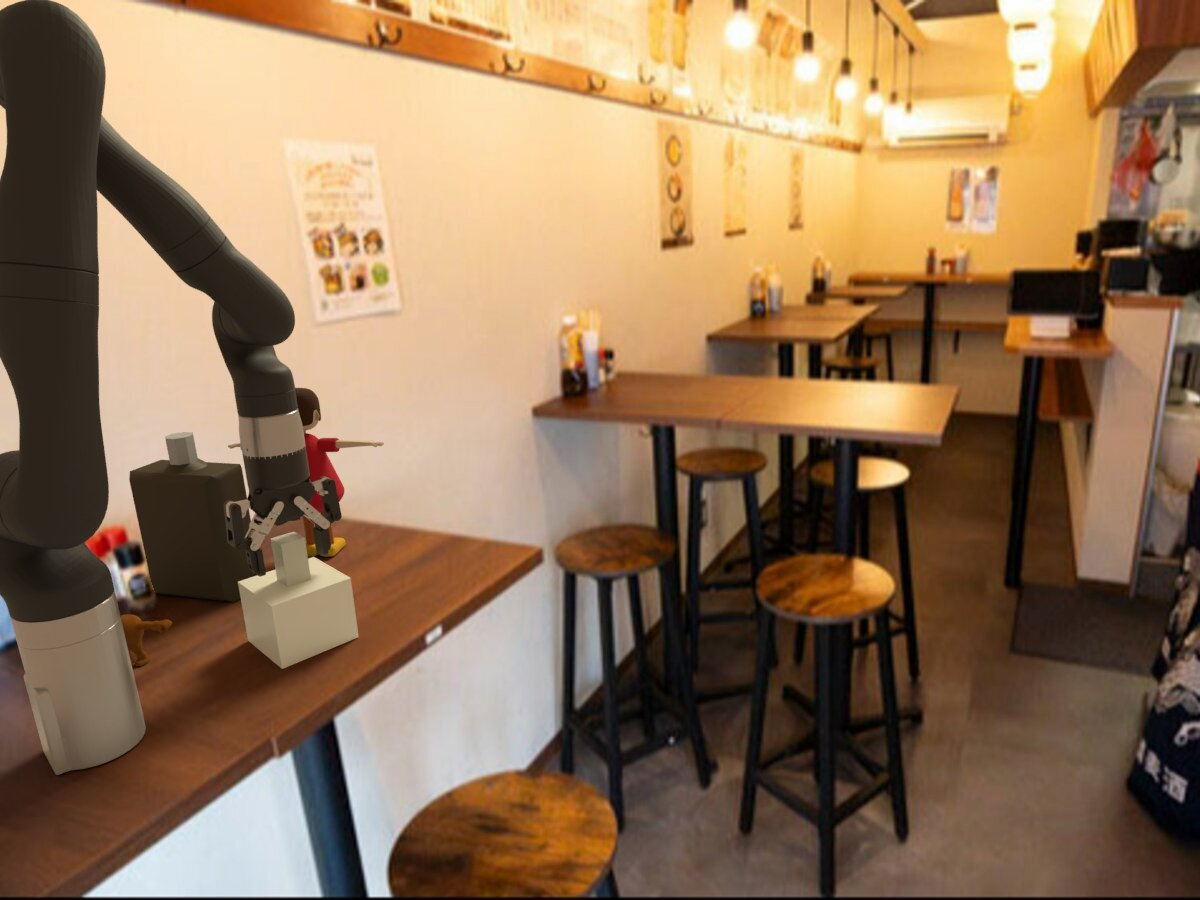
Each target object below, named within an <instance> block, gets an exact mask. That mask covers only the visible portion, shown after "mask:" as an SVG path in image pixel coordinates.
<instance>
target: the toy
mask: <svg viewBox="0 0 1200 900" xmlns="http://www.w3.org/2000/svg"><path fill="white" fill-rule="evenodd" d="M295 391H296V398H297V405H298V411H299V415H300V418H301V421H302V425H303V431H304V438H305V445H306V452H307V459H308V465H309V472H310V481H311V482H314V481H317V480H319V478H320V477H321V476H325V477H328V478H330V479H332V480H334V481H335V485H336V490H337V495H338V500H339V503H340V501H342V499H343V498H344V496H345V487H344V484H343V483H342V481H341V479H340V477H339V475H338V473H337V471H336V469H335V467H334V465H333V464H332V461H331V459H330V458H329V456H328V453H338V452H339V451H340V450H341V449H344V448H345V449H347V448H348V449H349V448H357V447H370V446H371V447H374V448H377V447H382V446H383V445H384V444H385V443H384V442H383V441H374V440H350V439H349V440H348V439H347V440H343V439H339V438H337V437H317V436H316V435H314V434H311V433H308V432H307V431H310V430H312V429H314V428H315V427H316V426H317V425H318V424H319V422H321V420H322V414H321V406H320V405H321V404H320V400H319V398H318V396H317V394H316V393H315V391H313V390H312V389H310V388H306V387H295ZM227 448H229V449H231V450H232V449H235V448H240V442H237V443H232V444H229V445H227ZM309 504H310V505H311V506H312V507H313V508H315V509H316V510H317V511H318V512H319V513H320V514H321V515H322V514H324V513H325V511H324V506H323V502H322V497H321V495H320V494H318V493H317V491H316V490H315V493H314V495H313V497H312V499H311V501H310V503H309ZM302 522H303V527H304V534H305V543H306V549H307V556H308V558H311V557H317V555H319V554H318V553H317V551H316V546H315V540H314V533H313V527H315V524H314V523H313V522H311V521H310V520H309V519H308V518H307V517H305V516H304V515H303V516H302ZM329 535H330V542H331V548H330V550H328V555H325V556H324V557H325V558H326V557H334V556H336V555H337V554H339V552H340V551H341V550H342V549H343V548H344V547H345V546H346V540H345V539H344V538H343V537H335V536H334V529H333V523H332V524H331V525H330V526H329ZM319 556H321V555H319ZM321 557H322V556H321Z"/></svg>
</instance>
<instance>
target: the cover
mask: <svg viewBox="0 0 1200 900" xmlns="http://www.w3.org/2000/svg"><path fill="white" fill-rule="evenodd" d="M306 543H307V542H306V536H303V535H301V534H300V533H298V532H296V531H292V532H291V531H290V532H287V533H285V534H281V535H277V536H275V537H271V538H270V545H271V549H272V556H273V557H272V558H273V564H274V568H275V569H272V570H269V571H266V575H264V576H261V577H259V576H258V575H257V576H254V577H251V578H248V579H245V580H242V581H239V582H238V586H239V592H240V597H241V598H240V603H241V606H242V607H241V609H242V613H243V619H244V624H245V625H244V626H245V629H246V630H245V631H246V637H247V641H248V642H249V643H250V644H252V646H253V647H255V648H256V649H257V650H258V651H260V652H261V653H262V654H263V655H265V657H267V658H268V659H269V660H271V661H272V663H274V664H275V665H277V666H278V667H279V668H280V669H282V670H283V669H286V668H288V667H291V666H292V665H296V664H297V663H301V662H302V661H305V660H307V659H309V658H313V657H314V656H317V655H319V654H321V653H324V652H326V651H329V650H332V649H333V648H336V647H338V646H341V645H343V644H346V643H348V642H351V641H353V640H355V639H357V638H358V639H359V631H358V623H357V622H358V621H357V614H356V606H355V600H354V591H353V584H352V578H351V577H350V576H349V575H346V574H345V573H344V572H341V571H340V570H338V569H336V568H334V567H332V566H330V565H329V564H327V563H325V562H323V561H322V560H320V559H318V558H317V557H316V556H311V557H309V556H307V549H306Z"/></svg>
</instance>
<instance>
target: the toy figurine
mask: <svg viewBox="0 0 1200 900" xmlns="http://www.w3.org/2000/svg"><path fill="white" fill-rule="evenodd" d="M120 617H121V621H122V625H123V630H124V634H125V638H126V643H127V647H128V652H129V656H130V660H131V664H133V663H134V666H135V667H137V666H140V667H143V666H145V665H147V664H148V663H149V662H150V660H151V659H150V657H149V656H148V654H147V652H146V651H144V646H143V641H142V639H143V637H144V633H145V630H146V631H147V630H151V631H155V632H157V631H158V633H161V634H166V633H167V630H168V629H169V628H170V627H171V626H172V625H173V621H171V620H169V619H166V618H164V619H163V620H153V621H150V620H149V621H147V620H146V621H143V620H142V618H140V617H139V616H138V615H135V614H130V613H127V614H122V615H120ZM131 650H132V651H131ZM133 653H134V654H135V655H136V658H137V659H136V658H135V656H134V654H133ZM135 659H136V660H135ZM146 663H147V664H146Z"/></svg>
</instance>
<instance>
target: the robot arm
mask: <svg viewBox="0 0 1200 900" xmlns="http://www.w3.org/2000/svg"><path fill="white" fill-rule="evenodd" d="M105 63H106V62H105V58H104V54H103V51H102V48H101V46H100V44H99V41H98V39H97V38H96V36H95V34H94V32H93V31H92V29H91V28H90V27H89V26H88V24H87V22H86V21H85V20H83V19H82V18H81V16H80V15H78V13H76V12H75V11H74V10H71V8H69V7H67V6H65V5H64V4H61V3H59V2H57V1H53V0H21V1H17V2H15V3H11V4H9V5H7V6H5V7H2V8H1V9H0V106H1V108H2V109H4V110H5V124H6V150H5V151H6V152H5V158H4V161H3V163H4V164H3V167H2V171H1V174H0V360H1V363H2V365H3V367H4V369H5V371H6V373H7V376H8V378H9V380H10V383H11V386H12V388H13V392H14V395H15V396H14V397H15V400H16V404H17V410H18V418H19V419H18V422H19V424H18V425H19V428H18V430H19V432H18V434H19V437H18V438H19V439H18V440H19V441H18V446H19V447H18V450H17V449H16V450H10V451H5V452H3V453H2V452H1V453H0V597H1V598H2V599H3V601H4V603H5V604H6V607H7V610H8V614H9V617H10V621H11V625H12V628H13V633H14V636H15V639H16V643H17V646H18V647H17V648H18V651H19V655H20V659H21V663H22V666H23V669H24V674H23V681H24V684H25V685H24V686H25V688H26V692H27V696H28V700H29V702H30V707H31V710H32V714H33V718H34V722H35V725H36V729H37V731H38V736H39V739H40V744H41V749H42V751H43V753H44V755H45V757H46V759H47V761H48V763H49V765H50V767H51V769H52V771H53V773H54V774H55V775H56V776H59V775H61V774H64V773H67V772H69V771H77V770H85V769H89V768H93V767H97V766H99V765H102V764H103V765H104V764H105V763H108V762H110V761H113V760H115V759H117V758H119V757H121V756H122V755H125V753H128V752H129V751H131V750H132V749H133V748H135V746H137V744H139V743H140V741H141V740H142V739H143V737H144V735H145V733H146V729H147V727H146V724H145V723H146V722H145V719H144V712H143V709H142V705H141V700H140V696H139V692H138V687H137V683H136V678H135V674H134V669H133V665H132V663H131V660H130V656H129V652H128V647H127V643H126V638H125V634H124V630H123V625H122V621H121V617H120V616H121V613H120V609H119V604H118V599H117V596H116V591H115V585H114V582H113V581H114V580H113V577H112V573H111V570H110V569H109V567H108V565H107V564H106V563H105V562H104V561H103V560H101V558H99V557H98V556H97V555H96V554H95V553H94V552H93V551H92V550H91V549H90V548H89V546H88V545H87V544H86V542H87V541H88V540H89V539H91V538H92V537H93V536H94V535H95V534H96V532H97V531H98V530H99V528H100V527H101V525H102V524H103V521H104V519H105V517H106V514H107V511H108V505H109V498H110V497H109V495H110V493H109V492H110V488H109V476H108V467H107V459H106V451H105V444H104V443H105V442H104V436H103V429H102V420H101V419H102V418H101V409H100V408H101V406H100V369H99V368H100V361H99V315H100V276H99V275H100V266H99V242H98V241H99V237H98V236H99V234H98V233H99V226H98V222H99V221H98V217H99V216H98V193H99V194H100V195H102V197H103V198H105V200H106V201H108V202H109V204H111V205H112V207H114V209H116V211H118V213H120V215H122V217H123V218H124V219H125V220H126V221H127V222H128V223H129V224H130V225H131V227H132V228H134V230H135V231H137V233H138V234H139V235H140V236H141V238H142V239H144V240H145V242H146V243H147V244H148V245H149V246H150V247H151V248H152V250H153V251H154V252H156V254H157V255H158V256H159V257H160V259H162V260H163V262H164V263H165V264H166V265H167V266H168V267H169V268H170V269H171V270H172V271H173V273H174V274H176V276H177V277H178V278H179V279H181V281H182V282H183V283H184V284H186V285H187V286H188V287H191V288H192V289H195V290H197V291H199V292H201V293H204V294H205V295H206V296H208V297H209V298H210V299H211V300H212V301H213V305H212V308H211V309H212V311H211V324H212V329H213V333H214V336H215V339H216V343H217V345H218V348H219V351H220V353H221V356H222V358H223V360H224V363H225V367H226V368H227V370H228V372H229V374H230V378H231V380H232V384H233V393H234V398H235V404H236V411H237V415H238V416H237V417H238V435H239V440H240V441H239V443H240V447H239V448H240V450H241V453H242V458H243V459H242V461H243V465H244V473H245V477H246V483H247V487H248V495H247V499H246V500H241V501H236V502H233V501H231V500H227V501H225V503H224V514H225V523H226V532H227V541H228V544H229V545H230V546H232V547H234V548H235V549H237V550H242V549H244V550H246V556H247V562H248V567H249V569H250V570H251V571H252V572H253V573H255V574H256V575H258V576H259V577H261V576H264V575H266V572H267V571H266V566H265V559H264V552H263V549H262V548H261V545H262V543H263V542H264V540H265V538H266V536H268V535H269V534H270V533H271V530H272V528H273V527H274V526H277V527H278V526H282V525H284V524H286V523H288V522H296V521H299V520H301V518H303V515H304V516H305V517H307V518H308V519H309V520H310V521H311V522H313V523H314V527H313V533H314V540H315V546H316V551H317V553H318V554H317V555H319V556H320V555H321V557H325V555H328V550H330V548H331V542H330V535H329V526H330V525H331V524H332V525H333V524H334V523H335V522H338V521H340V520H341V519H342V517H343V515H342V511H341V506H340V502H339V500H338V495H337V490H336V485H335V481H334V480H332V479H330V478H328V477H325V476H321V477H320V478H319V480H317V481H314V482H311V481H310V472H309V465H308V459H307V452H306V445H305V438H304V431H303V425H302V421H301V418H300V415H299V411H298V405H297V398H296V391H295V388H296V386H295V380H294V379H295V378H294V376H293V372H292V370H291V369H290V368H289V367H288V365H287V364H285V363H283V362H282V361H281V360H280V359H279V358H278V356H277V353H276V350H275V347H274V346H278V345H280V344H282V343H284V342H285V341H287V340H288V338H290V337H291V335H292V333H293V331H294V329H295V325H296V316H295V311H294V308H293V305H292V303H291V301H290V300H289V297H288V296H287V294H286V292H284V291H283V289H281V287H280V286H279V285H278V284H277V283H276V282H274V280H273V279H271V277H270V276H268V275H267V274H266V273H265V272H264V271H263V270H261V269H260V268H259V267H258V266H257V265H256V264H255V263H254V262H253V261H251V259H249V258H248V257H246V255H244V254H242V253H241V251H239V250H238V249H237V248H236V247H235V246H234V244H233V243H232V242H231V241H230V239H229V238H228V236H227V235H226V234H225V233H224V231H223V230H222V229H221V228H220V227H219V225H217V223H216V221H215V220H214V219H213V218H212V217H211V216H210V215H209V214H208V212H207V211H206V210H205V208H204V207H203V206H202V205H201V204H200V202H198V201H197V200H196V199H195V197H194V196H192V194H191V193H189V191H187V190H186V189H185V188H184V187H183V186H181V184H179V182H177V181H176V180H175V179H173V178H172V177H171V176H169V175H168V174H167V173H165V172H164V171H163V170H162V169H160V168H159V167H158V166H156V165H155V164H154V163H152V162H151V161H150V160H149V159H147V158H146V157H145V156H144V155H142V154H141V153H140V152H139V151H138V150H137V149H135V148H134V147H133V146H132V145H131V144H130V143H129V142H128V141H127V140H126V139H125V138H123V137H122V136H121V134H119V132H117V130H116V129H114V127H112V125H111V124H110V123H109V121H108V120H106V118H105V117H104V115H102V114H103V113H102V112H103V108H104V99H105V90H106V77H107V76H106V74H107V73H106V72H107V71H106V64H105ZM315 490H316V491H317V493H318V494H320V495H321V497H322V502H323V506H324V511H325V513H324V514H322V515H321V514H320V513H319V512H318V511H317V510H316V509H315V508H313V507H312V506H311V505H310V504H309V503H310V501H311V499H312V497H313V495H314V493H315ZM248 509H249V510H251V511H252V512H253V513H254V514H253V517H252V518H251V522H250V525H249V530H248V532H247V534H246V536H245V538H244V531H243V522H242V518H244V517H245V516H246V511H247V510H248Z"/></svg>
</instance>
